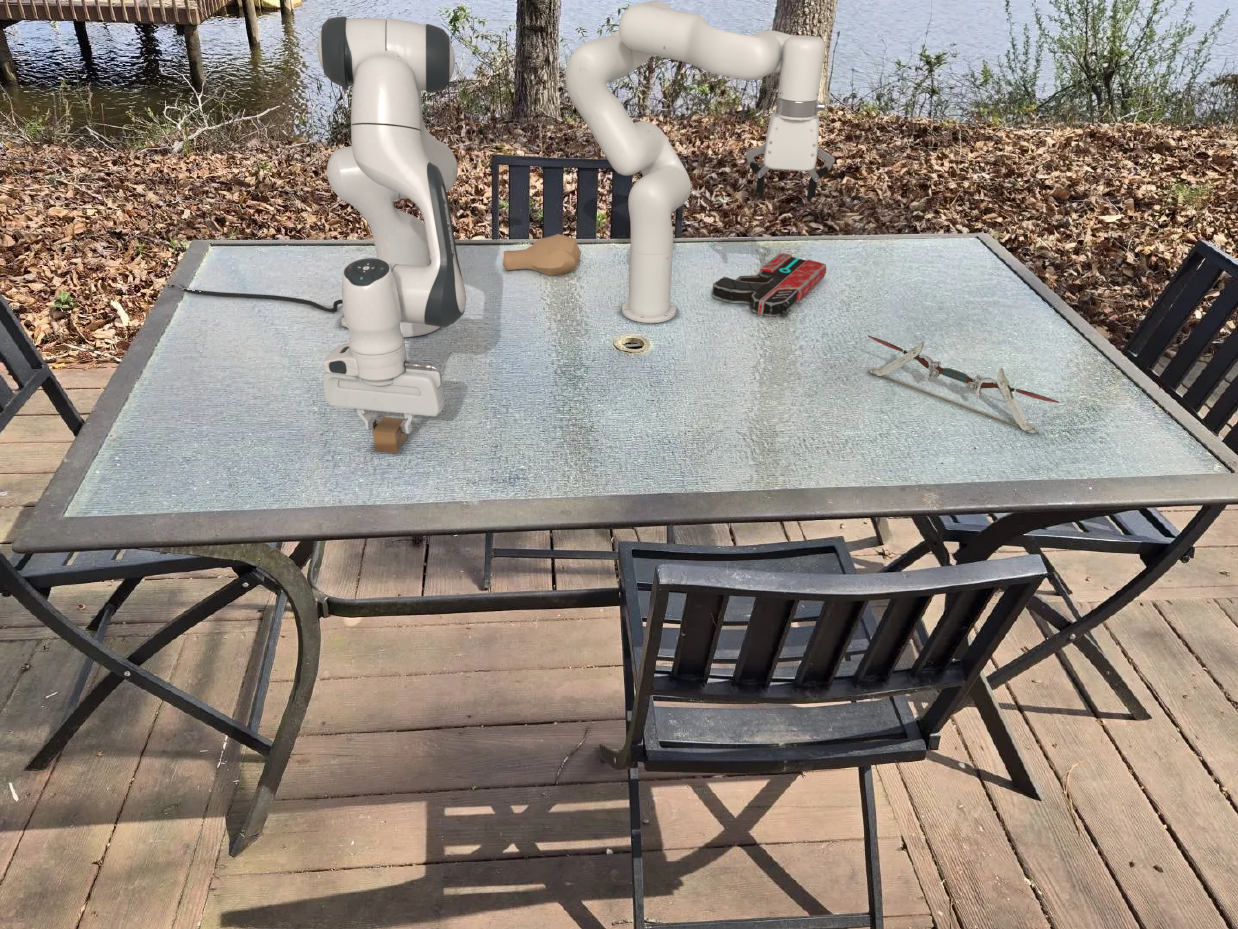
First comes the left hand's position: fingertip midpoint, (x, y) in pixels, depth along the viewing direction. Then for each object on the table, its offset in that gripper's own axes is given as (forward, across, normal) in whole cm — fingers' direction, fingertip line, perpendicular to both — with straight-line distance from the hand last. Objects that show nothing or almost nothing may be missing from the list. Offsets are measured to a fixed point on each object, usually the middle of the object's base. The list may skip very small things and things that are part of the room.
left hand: (389, 430), depth 153 cm
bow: (+3, -101, -34) cm, 107 cm away
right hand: (-28, -65, -56) cm, 91 cm away
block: (+3, 0, 0) cm, 3 cm away
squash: (+3, -8, -85) cm, 86 cm away
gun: (+3, -66, -84) cm, 107 cm away
